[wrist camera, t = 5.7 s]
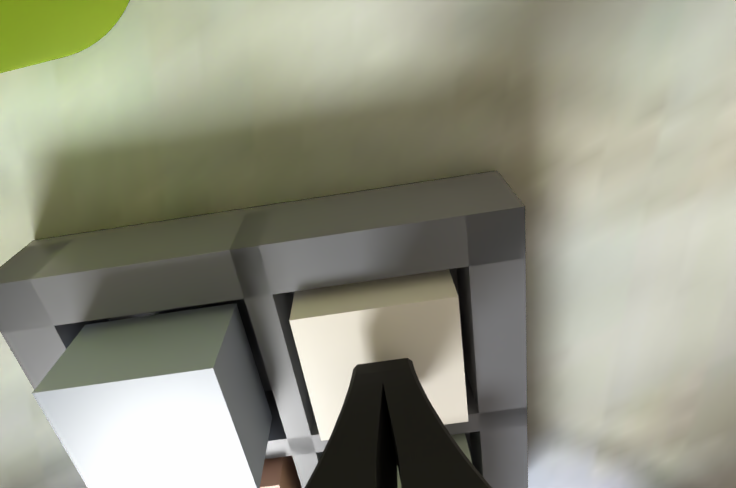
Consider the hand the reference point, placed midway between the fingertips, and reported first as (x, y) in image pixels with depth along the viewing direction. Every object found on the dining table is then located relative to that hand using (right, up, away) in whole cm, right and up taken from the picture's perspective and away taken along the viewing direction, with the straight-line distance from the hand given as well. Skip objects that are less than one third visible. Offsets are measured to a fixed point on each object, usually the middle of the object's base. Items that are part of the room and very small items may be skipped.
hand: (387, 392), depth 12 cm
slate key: (-6, 0, +2) cm, 6 cm away
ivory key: (0, +1, +3) cm, 3 cm away
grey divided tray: (-2, -1, +5) cm, 5 cm away
